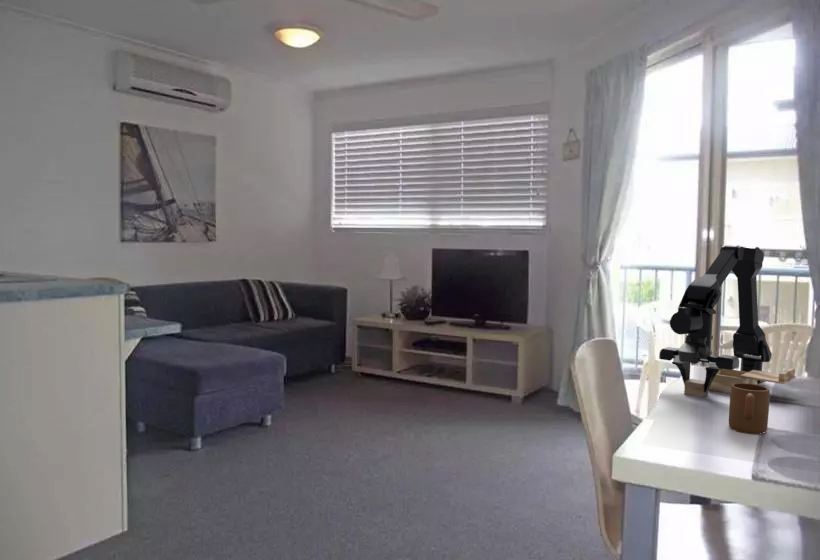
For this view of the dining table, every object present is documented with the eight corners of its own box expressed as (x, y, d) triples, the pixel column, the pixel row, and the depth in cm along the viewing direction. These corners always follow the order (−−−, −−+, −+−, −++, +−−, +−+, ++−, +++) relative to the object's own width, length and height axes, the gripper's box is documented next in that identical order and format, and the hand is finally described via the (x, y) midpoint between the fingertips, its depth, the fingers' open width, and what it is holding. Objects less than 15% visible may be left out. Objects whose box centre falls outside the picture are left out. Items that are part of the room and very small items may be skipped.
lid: (753, 371, 186) (753, 362, 186) (795, 377, 179) (796, 368, 179) (740, 377, 178) (740, 367, 178) (784, 384, 171) (784, 374, 171)
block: (690, 391, 181) (691, 378, 181) (707, 394, 178) (708, 381, 178) (684, 394, 178) (685, 381, 178) (701, 397, 175) (702, 383, 175)
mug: (768, 442, 137) (771, 397, 137) (727, 436, 141) (729, 392, 140) (766, 428, 148) (769, 385, 147) (728, 422, 151) (731, 381, 151)
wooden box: (718, 383, 192) (719, 367, 192) (756, 389, 185) (757, 373, 185) (704, 389, 184) (705, 372, 184) (744, 396, 177) (745, 379, 177)
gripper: (652, 330, 177) (649, 388, 178) (727, 339, 165) (722, 402, 166) (669, 326, 185) (665, 382, 186) (741, 335, 173) (737, 395, 174)
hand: (696, 390), depth 178 cm, fingers closed on block, 4 cm apart
